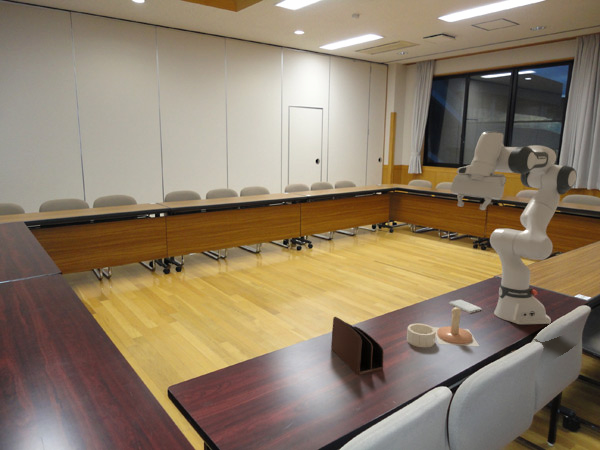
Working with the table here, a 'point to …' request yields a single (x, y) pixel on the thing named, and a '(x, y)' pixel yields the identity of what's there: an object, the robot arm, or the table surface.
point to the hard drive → (465, 306)
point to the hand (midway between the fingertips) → (470, 207)
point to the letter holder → (356, 348)
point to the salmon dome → (454, 330)
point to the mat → (440, 341)
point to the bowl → (421, 335)
